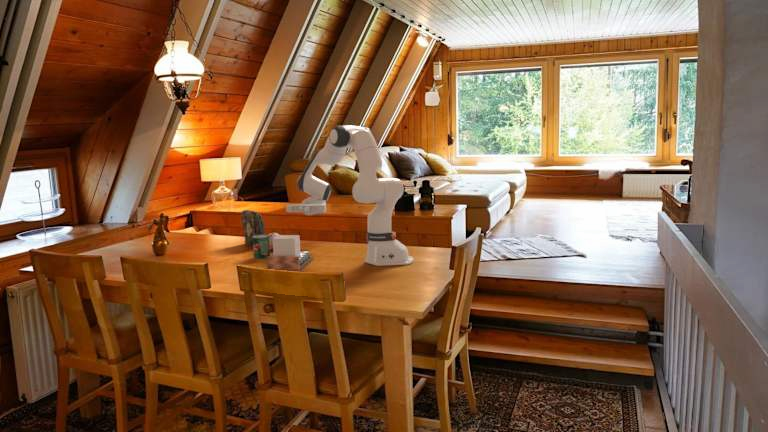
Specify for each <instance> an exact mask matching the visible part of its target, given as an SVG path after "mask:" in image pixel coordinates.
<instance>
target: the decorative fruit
mask: <svg viewBox="0 0 768 432" xmlns="http://www.w3.org/2000/svg"><path fill="white" fill-rule="evenodd" d="M268 235H269V247H270V249H271V250H273V238H274V237H276V236H278V235H280V234H279V233H278V232H276V231H275V232H274V231H273V230H272V233H269V234H268Z"/></svg>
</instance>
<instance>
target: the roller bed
mask: <svg viewBox="0 0 768 432" xmlns="http://www.w3.org/2000/svg"><path fill="white" fill-rule="evenodd" d="M266 260H267V270H268V269H275V270H287V271H300V270H301V271H302V269H303V268H304V267H305V268H306V267H307V266H308V265H309V264H311V263H312V262H313V261H314V256H310V258H308V260H305V262H303V264H302V265H300V261H299V256H274V255H270V256H268V257H267V259H266ZM305 268H304V269H305ZM304 269H303V270H304ZM301 271H300V272H301Z"/></svg>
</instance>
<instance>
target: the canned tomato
mask: <svg viewBox="0 0 768 432" xmlns="http://www.w3.org/2000/svg"><path fill="white" fill-rule="evenodd" d="M252 248H253V249H252V250H253V259H254V260H257V261H258V260H260V261H261V260H267V257H268V256H271V250H270V249H271V248H270V247H269V234H264V235H255V236H253V247H252Z"/></svg>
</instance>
